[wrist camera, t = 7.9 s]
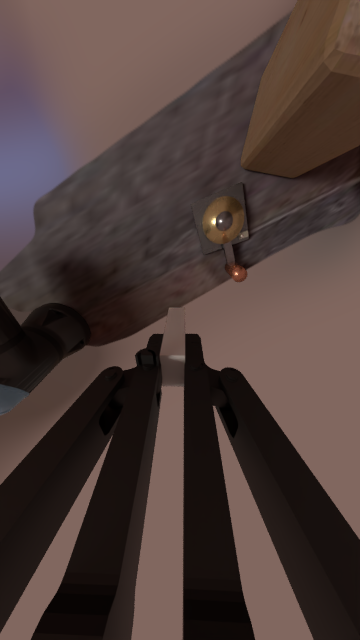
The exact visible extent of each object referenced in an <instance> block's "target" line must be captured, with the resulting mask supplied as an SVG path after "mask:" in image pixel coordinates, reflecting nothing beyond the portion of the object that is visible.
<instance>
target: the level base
mask: <svg viewBox="0 0 360 640" xmlns="http://www.w3.org/2000/svg"><path fill="white" fill-rule="evenodd" d="M223 196H230V197H233V198H235V199H237V200H238V201H239V202H240V204H241V205H242V207H243V210H244V223H243V227H242V229H241V231H240V233H239V234H238V235H237V237H236V238H234V239H233V240H232V241H231V243H232V245H233V244H236V243H239V242H242V241H245V240H248V239H249V234H248V226H247V218H246V209H245V201H244V193H243V185H242V182H241V183H238V184H236V185H234V186H231V187H229V188H227V189H224V190H222V191H220V192H217V193H215V194H213V195H211V196H208V197H206V198H204V199H201V200H199V201H197V202H194V203H192V204H191V208H192V212H193V216H194V220H195V224H196V228H197V231H198V235H199V239H200V243H201V247H202V251H203V255H205V254H208V253H211V252H214V251H217V250H219V249H222V248H223V244H217V243H214V242H212V241H210V240H209V239H208V238H207V237H206V236H205V234H204V231H203V227H202V220H203V216H204V213H205V211H206V209H207V208H208V206H209V205H210V204H211V203H212V202H213V201H214V200H216V199H217V198H219V197H223Z"/></svg>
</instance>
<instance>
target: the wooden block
mask: <svg viewBox="0 0 360 640" xmlns="http://www.w3.org/2000/svg"><path fill="white" fill-rule="evenodd" d="M358 146H360V0H298V1H297V3H296V5H295V7H294V10H293V12H292V14H291V16H290V18H289V20H288V22H287V25H286V27H285V29H284V31H283V33H282V35H281V37H280V39H279V42H278V44H277V46H276V48H275V50H274V52H273V54H272V57H271V59H270V61H269V63H268V65H267V67H266V69H265V72H264V74H263V76H262V78H261V82H260V86H259V90H258V94H257V98H256V102H255V106H254V110H253V114H252V117H251V121H250V125H249V129H248V133H247V137H246V141H245V145H244V149H243V153H242V157H241V166H242V167H243V168H244V169H247V170H252V171H257V172H263V173H268V174H273V175H278V176H283V177H288V178H295V177H298V176H300V175H302V174H304V173H306V172H308V171H310V170H312V169H314V168H316V167H318V166H320V165H322V164H324V163H326V162H328V161H330V160H332V159H334V158H336V157H338V156H340V155H342V154H344V153H346V152H348V151H350V150H352V149H354V148H356V147H358Z"/></svg>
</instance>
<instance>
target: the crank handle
mask: <svg viewBox="0 0 360 640" xmlns="http://www.w3.org/2000/svg"><path fill="white" fill-rule="evenodd" d="M243 223H244V210H243V207H242V205H241V204H240V202H239V201H238V200H237V199H235V198H233V197H230V196H223V197H219V198H217V199H216V200H214V201H213V202H212V203H211V204H210V205H209V206H208V208H207V209H206V211H205V213H204V216H203V220H202V227H203V231H204V234H205V236H206V237H207V238H208V239H209V240H210V241H212V242H214V243H217V244H223V249H224V253H225V258H226V262H227V263H226V265H225V270H226V271H227V273H228V274H229V275H230V276H231V277H232V278H233V279H234V280H235V281H236V282H242V281H244V279H246V277H247V271H246V270H245V269H244V268H243V267H241V266H240V265H239V264H237V263H236V262H235V259H234V254H233V248H232V243H231V241H232V240H233V239H234V238H236V237H237V235H238V234H239V233H240V231H241V229H242V227H243Z"/></svg>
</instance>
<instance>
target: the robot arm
mask: <svg viewBox="0 0 360 640" xmlns="http://www.w3.org/2000/svg"><path fill="white" fill-rule="evenodd" d="M89 339H90V329H89V327H88V325H87V323H86V322H85V320H84V319H83V318H82V317H81V316H80V315H79V314H78V313H77V312H75V311H74V310H72V309H71V308H69V307H66V306H64V305H60V304H55V303H50V304H45V305H42V306H40V307H39V308H37V309H35V310H34V311H32V312H31V314H30V315H29V316H28V317H27V319H26V320H25V321H24V322H23V323H22V324H21V325H19V323H18V322H17V320H16V319H15V317H14V316H13V315H12V313H11V312H10V310H9V309H8V307H7V306H6V304H5V303H4V301H3V300H2V299H1V297H0V415H3V414H5V413H7V412H9V411H11V410H12V409H13V408H14V407H15V406H16V405H17V404H18V403H19V402H21V401H22V400H23V399H24V398H26V397H27V396H28V395H29V393H30V392H31V391H32V390H33V389H34V388H35V387H36V386H37V385H38V384H39V383H40V382H41V381H42V380H43V379H44V378H45V377H46V376H47V375H48V374H49V373H50V372H51V371H52V370H53V369H54V367H55V366H57V365H58V363H60V361H61V360H63V359H64V358H66V357H68V356H70V355H72V354H74V353H76V352H78V351H80V350H81V349H82V348H83V347H84V346H85V345H86V344H87V343H88V342H89ZM135 357H136V363H137V366H136V367H135V368H132V369H129V370H124V371H123V370H122V369H121V368H120V367H116V366H113V367H109V368H107V369H105V370H104V371H102V372H101V373H100V374H99V375H98V377H97V378H96V379H95V380H94V381H93V382H92V383H91V384H90V385H89V387H88V388H87V389H86V390H85V391H84V392H83V393H82V394H81V396H80V397H79V398H78V399H77V400H76V402H74V403H73V405H72V406H71V407H70V408H69V409H68V410H67V411H66V412H65V413H64V415H63V416H62V417H61V418H60V419H59V420H58V421H57V422H56V424H55V425H54V426H53V427H52V428H51V429H50V430H49V431H48V432H47V433H46V435H45V436H44V437H43V438H42V439H41V440H40V441H39V443H38V444H37V445H36V446H35V447H34V448H33V449H32V450H31V451H30V453H29V454H28V455H27V456H26V457H25V458H24V459H23V460H22V462H21V463H20V464H19V465H18V466H17V467H16V468H15V469H14V470H13V472H12V473H11V474H10V475H9V476H8V477H7V478H6V479H5V480H4V482H3V483H2V484H1V485H0V632H1V631H2V629H3V627H4V626H5V624H6V622H7V620H8V619H9V617H10V615H11V613H12V611H13V610H14V608H15V606H16V604H17V603H18V601H19V599H20V597H21V596H22V594H23V592H24V590H25V588H26V587H27V585H28V583H29V581H30V579H31V578H32V576H33V574H34V573H35V571H36V569H37V567H38V566H39V564H40V562H41V560H42V558H43V557H44V555H45V553H46V551H47V550H48V548H49V546H50V544H51V543H52V541H53V539H54V537H55V536H56V533H57V532H58V530H59V528H60V527H61V525H62V523H63V521H64V520H65V518H66V516H67V514H68V512H69V511H70V509H71V507H72V506H73V504H74V502H75V500H76V498H77V497H78V495H79V493H80V491H81V490H82V488H83V486H84V484H85V483H86V481H87V479H88V477H89V476H90V474H91V472H92V470H93V468H94V467H95V465H96V463H97V461H98V460H99V458H100V456H101V454H102V453H103V451H104V449H105V447H106V445H107V444H108V442H109V440H110V438H111V436H112V435H113V437H112V439H111V442H110V445H109V448H108V451H107V454H106V457H105V460H104V463H103V465H102V468H101V471H100V474H99V477H98V480H97V483H96V486H95V489H94V491H93V494H92V497H91V500H90V503H89V506H88V509H87V511H86V515H85V517H84V520H83V523H82V526H81V529H80V532H79V534H78V537H77V540H76V544H75V546H74V549H73V552H72V555H71V558H70V561H69V563H68V566H67V569H66V572H65V575H64V577H63V580H62V582H61V585H60V587H59V589H58V591H57V593H56V594H55V596H54V598H53V599H52V601H51V602H50V604H49V605H48V607H47V609H46V610H45V611H44V613H43V615H42V617H41V619H40V621H39V623H38V625H37V628H36V629H35V632H34V633H33V636H32V638H31V640H131V635H132V627H133V617H134V601H135V586H136V578H137V571H138V564H139V556H140V549H141V541H142V533H143V527H144V519H145V512H146V505H147V497H148V490H149V483H150V475H151V468H152V460H153V453H154V446H155V438H156V431H157V424H158V417H159V409H160V402H161V395H162V392H161V386H184V502H183V503H184V504H183V507H184V509H183V640H255V637H254V633H253V628H252V624H251V621H250V617H249V614H248V611H247V607H246V604H245V600H244V596H243V591H242V585H241V580H240V574H239V567H238V561H237V555H236V548H235V542H234V537H233V530H232V523H231V517H230V511H229V505H228V499H227V493H226V486H225V480H224V474H223V467H222V461H221V454H220V448H219V442H218V436H217V429H216V424H215V417H214V411H213V405H214V406H216V409H217V412H218V414H219V416H220V419H221V421H222V423H223V426H224V428H225V431H226V433H227V435H228V438H229V440H230V442H231V445H232V447H233V450H234V452H235V454H236V456H237V459H238V461H239V464H240V466H241V468H242V471H243V473H244V475H245V478H246V480H247V483H248V485H249V487H250V490H251V492H252V495H253V497H254V499H255V502H256V504H257V506H258V509H259V511H260V513H261V516H262V518H263V521H264V523H265V525H266V528H267V530H268V532H269V535H270V537H271V539H272V542H273V544H274V546H275V549H276V551H277V554H278V556H279V558H280V561H281V563H282V565H283V567H284V570H285V572H286V575H287V577H288V580H289V582H290V584H291V587H292V589H293V591H294V594H295V596H296V599H297V601H298V603H299V605H300V608H301V610H302V613H303V615H304V617H305V620H306V622H307V624H308V627H309V629H310V632H311V634H312V636H313V639H314V640H360V539H359V538H358V537H357V535H356V534H355V532H354V531H353V530H352V528H351V527H350V525H349V524H348V523H347V521H346V520H345V518H344V517H343V515H342V514H341V513H340V511H339V510H338V508H337V507H336V506H335V504H334V503H333V502H332V500H331V499H330V497H329V496H328V494H327V493H326V492H325V490H324V489H323V487H322V486H321V484H320V483H319V482H318V480H317V479H316V477H315V476H314V475H313V473H312V472H311V470H310V469H309V468H308V466H307V465H306V463H305V462H304V460H303V459H302V458H301V456H300V455H299V453H298V452H297V451H296V449H295V448H294V446H293V445H292V444H291V442H290V441H289V439H288V438H287V436H286V435H285V434H284V432H283V431H282V429H281V428H280V427H279V425H278V424H277V422H276V421H275V420H274V418H273V417H272V415H271V414H270V412H269V411H268V410H267V409H266V407H265V405H264V404H263V403H262V401H261V400H260V398H259V397H258V396H257V394H256V393H255V391H254V390H253V389H252V387H251V386H250V384H249V383H248V381H247V380H246V379H245V377H244V376H243V374H241V372H240V371H238V370H236V369H234V368H224V369H222V370H221V371H217V370H214V369H211V368H209V367H208V366H207V365H206V364H205V362H204V358H203V351H202V345H201V338H200V337H199V335H198V334H185V308H169V311H168V316H167V321H166V326H165V331H164V334H153V335H152V336H151V337H150V338H149V341H148V344H147V348H145V349H142V350H140V351H139V352H137V353H136V355H135ZM113 433H114V434H113Z"/></svg>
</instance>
